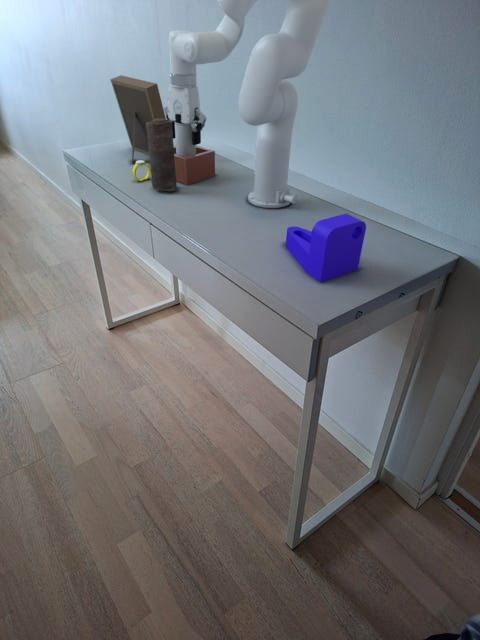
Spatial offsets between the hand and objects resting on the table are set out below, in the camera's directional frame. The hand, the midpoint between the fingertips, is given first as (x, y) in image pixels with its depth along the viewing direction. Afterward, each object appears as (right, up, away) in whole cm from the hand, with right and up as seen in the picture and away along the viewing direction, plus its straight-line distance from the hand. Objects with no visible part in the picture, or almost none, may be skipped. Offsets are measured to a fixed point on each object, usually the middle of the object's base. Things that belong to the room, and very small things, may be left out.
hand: (185, 141), depth 143 cm
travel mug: (0, -9, +6) cm, 11 cm away
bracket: (+34, -42, -39) cm, 67 cm away
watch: (-14, -12, +1) cm, 18 cm away
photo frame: (-19, +3, +22) cm, 29 cm away
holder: (0, -9, +6) cm, 11 cm away
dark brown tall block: (-6, -17, -5) cm, 19 cm away
